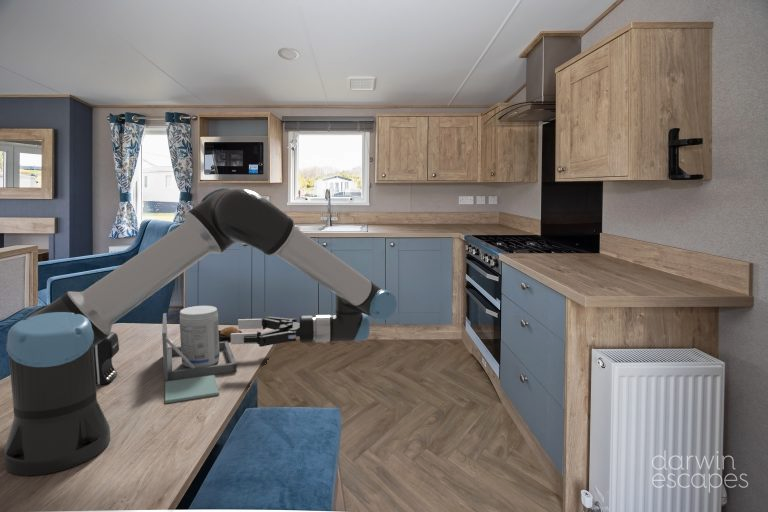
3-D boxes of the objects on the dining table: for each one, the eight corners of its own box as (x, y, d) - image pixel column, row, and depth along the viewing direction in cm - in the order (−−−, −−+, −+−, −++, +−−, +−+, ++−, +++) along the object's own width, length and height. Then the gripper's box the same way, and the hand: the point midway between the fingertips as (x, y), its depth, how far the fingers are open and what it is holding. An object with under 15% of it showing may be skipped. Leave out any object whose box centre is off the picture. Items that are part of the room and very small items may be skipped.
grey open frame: (164, 381, 110) (162, 333, 108) (165, 354, 128) (163, 313, 126) (236, 371, 117) (235, 326, 116) (227, 347, 135) (226, 308, 133)
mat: (165, 403, 98) (165, 400, 98) (165, 384, 108) (165, 381, 108) (218, 394, 103) (218, 392, 103) (214, 377, 113) (214, 374, 113)
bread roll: (214, 335, 148) (214, 324, 148) (241, 333, 151) (241, 322, 151) (215, 345, 138) (214, 333, 138) (243, 342, 141) (243, 331, 141)
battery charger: (112, 385, 107) (109, 338, 106) (94, 386, 106) (91, 339, 105) (122, 373, 114) (119, 329, 112) (105, 374, 113) (102, 330, 112)
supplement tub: (202, 354, 129) (201, 303, 127) (227, 360, 125) (226, 307, 123) (173, 365, 120) (171, 311, 119) (198, 371, 116) (196, 315, 114)
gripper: (315, 357, 115) (227, 360, 112) (313, 329, 140) (241, 331, 136) (315, 328, 114) (227, 331, 111) (313, 305, 139) (240, 306, 135)
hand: (234, 331), depth 123 cm, fingers open, 13 cm apart
